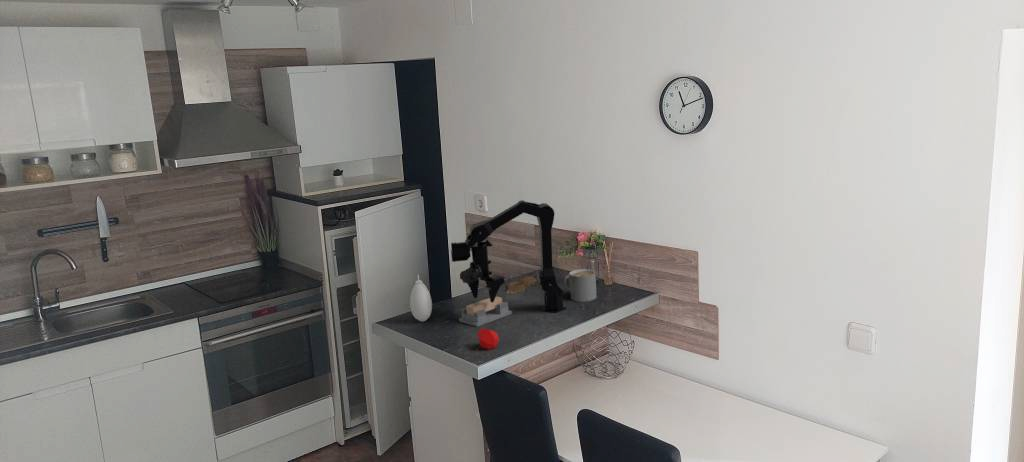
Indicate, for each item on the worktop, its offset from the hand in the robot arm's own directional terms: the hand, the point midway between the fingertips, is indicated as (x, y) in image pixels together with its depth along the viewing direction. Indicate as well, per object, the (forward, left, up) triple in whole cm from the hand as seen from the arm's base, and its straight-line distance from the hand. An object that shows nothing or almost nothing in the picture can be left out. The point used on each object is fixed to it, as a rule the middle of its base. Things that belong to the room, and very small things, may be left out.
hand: (483, 300), depth 268 cm
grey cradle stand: (0, 0, -7) cm, 7 cm away
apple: (-23, +19, -7) cm, 31 cm away
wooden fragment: (+19, -37, -7) cm, 42 cm away
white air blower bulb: (+17, +16, -7) cm, 24 cm away
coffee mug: (-13, -38, -7) cm, 41 cm away
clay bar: (0, 0, -4) cm, 4 cm away
